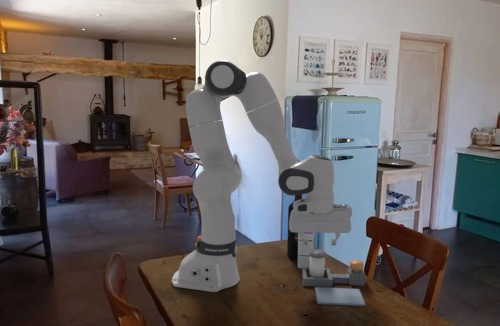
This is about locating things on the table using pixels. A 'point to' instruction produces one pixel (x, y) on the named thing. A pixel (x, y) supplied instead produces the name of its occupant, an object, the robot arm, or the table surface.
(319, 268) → the white jar
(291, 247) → the wine bottle
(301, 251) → the syrup box
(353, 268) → the plunger
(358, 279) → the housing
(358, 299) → the mat
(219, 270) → the robot arm
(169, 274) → the table surface
